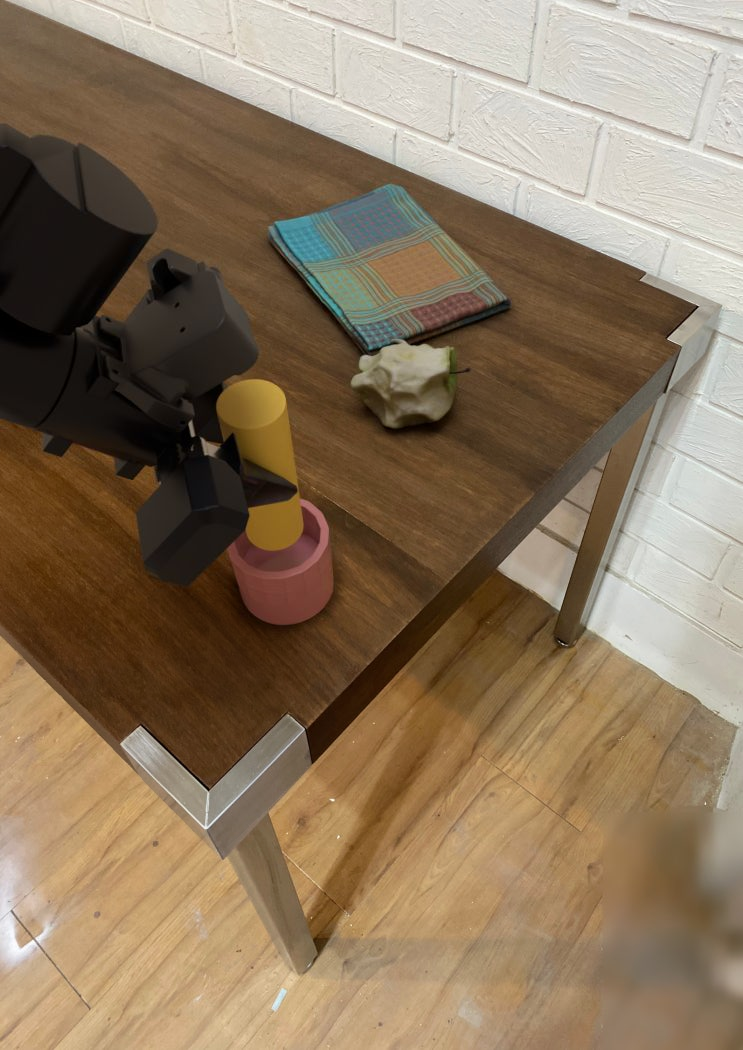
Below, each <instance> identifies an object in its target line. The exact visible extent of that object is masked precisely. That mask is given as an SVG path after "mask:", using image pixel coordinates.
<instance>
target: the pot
mask: <svg viewBox="0 0 743 1050" xmlns="http://www.w3.org/2000/svg"><path fill="white" fill-rule="evenodd" d="M300 503H301V510H302V517H303V524H304V525H303V531H302V534H301V536H300V537H299V539H298V540H297V541H296V542H295V543H294V544H292V545H291V546H289V547H287V548H285V549H281V550H276V551H269V550H264V549H261V548H258V547H257V546H255V545H254V544H252V543H251V541H250V540H249V539H248V537H247V534H246V530H245V531H244V532H243V533H242V534H241V535H240V536H239V537H238V538H237V539H236V540H235V541H234V542H233V543H232V544H231V545H230V546H229V547H228V548H227V549H226V550H227V554H228V557H229V559H230V564H231V567H232V570H233V573H234V576H235V579H236V583H237V585H238V589H239V593H240V596H241V599H242V602H243V604H244V606H245V607H246V609H247V610H248V611H249V612H250V613H251V614H252V615H253V616H254V617H256V618H257V619H259V620H261V621H263V622H265V623H267V624H272V625H277V626H289V625H295V624H299V623H303V622H305V621H308V620H310V619H311V618H313V617H315V616H316V615H318V614H319V613H320V612H321V611H322V610H323V609H324V608H325V607H326V605H327V604H328V603H329V601H330V599H331V597H332V595H333V592H334V586H335V578H334V569H333V551H332V544H331V543H332V542H331V534H330V533H331V532H330V526H329V525H328V523H327V519H326V518H325V515H324V513H323V511H321V510H320V509H318V508H317V506H315V505H314V504H313V503H311V502H310V501H308V500H306V499H303V498H300Z"/></svg>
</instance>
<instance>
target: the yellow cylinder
mask: <svg viewBox="0 0 743 1050" xmlns="http://www.w3.org/2000/svg"><path fill="white" fill-rule="evenodd" d="M287 403H288V402H287V398H286V394H285V393H284V391H283V390H282V389H281V388H280V387H279V386H278V385H276V384H275V383H273V382H271V381H268V380H265V379H255V378H254V379H253V378H251V379H244V380H241V381H236V382H235V383H233V384H231V385H229V386H228V388H226V389H225V390H224V391H223V392H222V393H221V395H220V396H219V398H218V400H217V403H216V411H217V415H218V419H219V424H220V428H221V432H222V436H223V440H224V441H225V440H226V439H227V438H228V437H229V436H230V435H231V434H232V433H235V435H236V438H237V442H238V446H239V450H240V454H241V457H243V458H245V459H247V460H249V461H251V462H253V463H255V464H257V465H259V466H261V467H263V468H265V469H267V470H269V471H271V472H273V473H275V474H277V475H279V476H281V477H283V478H284V479H286V480H288V481H289V482H291V483H292V484H294V485H296V486H297V489H298V492H297V493H296V494H295V495H294V496H293V497H292V498H291V499H290V500H288V501H285V502H279V503H274V504H268V505H263V506H257V507H252V508H248V510H249V514H250V516H249V519H248V523H247V526H246V529H245V530H246V534H247V537H248V539H249V540H250V541H251V543H252V544H254V545H255V546H257V547H258V548H261V549H264V550H269V551H276V550H281V549H285V548H287V547H289V546H291V545H292V544H294V543H295V542H296V541H297V540H298V539H299V537H300V536H301V534H302V531H303V525H304V524H303V517H302V510H301V503H300V499H301V496H300V490H299V483H298V482H299V481H298V475H297V469H296V460H295V454H294V447H293V440H292V439H293V438H292V432H291V426H290V418H289V411H288V405H287Z"/></svg>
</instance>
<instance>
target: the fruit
mask: <svg viewBox="0 0 743 1050" xmlns="http://www.w3.org/2000/svg"><path fill="white" fill-rule="evenodd" d="M391 341H392V342H396V343H398V345H390V346H386V347H383V348H382V349H381V350H380V352H379V353H378V354H377V355H375V356H369V355H365V354H363V355H361V356H360V358H359V361H358V365H357V366H358V370H359V371H360V373H357V374H355V375H354V376H353V377H352V379H351V381H350V388H351V389H352V391H353V393H355V395H358V396H361V401H362V402H363V403H364V405H365V406H366V407H368V409H370V410H371V412H372V413H373V414H374V415H375V416H376V417H377V418H378V419H379V421H380V422H381V424H382V425H383V426H384V427H385V428H386V427H387V428H390V429H393V430H395V429H402V428H405V427H413V426H419V425H423V424H427V423H429V424H431V423H434V422H438V421H440V420H441V419H442V418H443V417H445V416H446V414H448V413H449V412H450V410H451V409H452V406H453V403H454V400H455V397H456V395H457V387H458V375H459V374H464V373H469V372H471V371H472V369H471V366H469V367H467V368H465V369H462V370H459V369H458V361H459V360H458V356H457V351H456V350H455V348H454V346H452V347H451V346H450V345H446V346H445V347H441V348H440V347H437V348H434V347H433V346H431V345H429V344H427V343H422V344H420V345H411V344H410V345H408V344H407V343H406V342H405V341H404V340H401V339H393V340H391Z"/></svg>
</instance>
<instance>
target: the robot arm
mask: <svg viewBox="0 0 743 1050" xmlns="http://www.w3.org/2000/svg"><path fill="white" fill-rule="evenodd" d="M158 226H159V218H158V215H157V213H156V210H155V208H154V206H153V205H152V203H151V202H150V200H149V199H148V198H147V196H146V195H145V193H143V191H142V189H140V188H139V186H137V184H136V183H135V182H134V181H133V180H132V179H131V178H130V177H129V176H128V175H127V174H125V172H123V171H122V170H121V169H120V168H119V167H117V166H116V165H115V164H114V163H112V162H111V161H110V160H109V159H107V158H106V157H105V156H104V155H102V154H100V153H99V152H97V151H96V150H95V149H93V148H91V147H89V146H88V145H86V144H84V143H83V142H81V141H80V142H77V144H74V143H72V142H70V141H68V140H66V139H64V138H61V137H57V136H54V135H52V134H51V135H50V134H37V135H33V136H31V137H30V136H29V135H26V134H25V133H23V132H22V131H20V130H18V129H16V128H15V127H13V126H12V125H10V124H8V123H6V122H3V123H2V122H1V123H0V419H1V420H3V421H4V420H5V421H7V422H10V423H13V424H15V425H19V426H22V427H25V428H28V429H29V430H30V429H31V430H33V431H35V432H39V433H41V445H42V446H41V447H42V452H43V453H47V454H50V455H52V456H53V455H54V456H56V457H59V458H63V456H64V455H65V454H66V452H67V451H68V450H69V449H70V447H71V446H72V445H73V444H74V445H77V446H80V447H83V448H85V449H88V450H92V451H94V452H96V453H101V454H103V455H106V456H109V457H112V458H113V462H114V469H115V476H118V477H120V478H124V479H126V480H129V481H134V480H135V478H136V477H137V476H138V475H139V474H140V473H141V471H142V470H143V469H144V468H145V467H149V468H153V471H154V477H155V483H156V485H159V486H158V487H157V488H156V489H155V490H154V491H153V492H152V494H151V495H150V496H149V497H148V498H147V499H146V500H145V501H144V502H143V504H141V506H140V507H139V508H138V509H137V510H136V511H135V517H136V524H137V531H138V538H139V545H140V552H141V559H142V564H143V566H144V569H145V571H146V574H147V575H148V577H149V578H150V579H154V580H156V581H160V582H164V583H168V584H172V585H175V586H180V587H185V588H188V587H189V586H190V585H191V584H192V583H194V581H196V579H198V578H199V576H200V575H201V574H203V572H205V571H206V570H207V569H208V568H209V567H210V566H211V565H212V564H213V563H214V562H215V561H216V560H217V559H218V558H219V557H220V556H221V555H222V554H223V553H224V552H225V551H226V550H227V548H228V547H229V546H230V545H231V544H232V543H233V542H234V541H235V540H236V539H237V538H238V537H239V536H240V535H241V534H242V533H243V532H244V531H245V529H246V526H247V523H248V519H249V516H250V514H249V510H248V508H252V507H257V506H263V505H268V504H274V503H279V502H285V501H288V500H290V499H291V498H292V497H293V496H294V495H295V494H296V493H297V492H298V489H299V488H298V489H297V486H296V485H294V484H292V483H291V482H289V481H288V480H286V479H284V478H283V477H281V476H279V475H277V474H275V473H273V472H271V471H269V470H267V469H265V468H263V467H261V466H259V465H257V464H255V463H253V462H251V461H249V460H247V459H245V458H243V457H241V454H240V450H239V446H238V442H237V438H236V435H235V433H232V434H231V435H230V436H229V437H228V438H227V439H226V440H225V441H224V440H223V436H222V432H221V428H220V424H219V419H218V415H217V411H216V403H217V400H218V398H219V396H220V395H221V393H222V392H223V391H224V390H225V389H226V388H228V387H229V386H228V385H227V384H226V383H225V382H226V381H227V380H229V379H230V378H232V377H234V376H242V375H243V374H245V373H247V372H248V371H249V370H250V369H251V368H252V367H253V366H254V365H255V364H256V362H257V361H258V358H259V354H260V349H259V345H258V343H257V341H256V339H255V338H254V334H253V331H252V327H251V324H250V317H249V314H248V312H247V311H246V310H245V308H244V307H243V306H242V305H241V304H240V303H239V301H238V300H237V299H236V298H235V297H234V295H233V294H232V293H231V292H230V291H229V289H228V288H227V287H226V284H225V282H224V278H223V274H222V272H221V270H220V269H219V268H218V267H215V266H208V264H206V262H205V261H204V260H201V261H200V262H198V261H197V260H195V259H193V258H191V257H189V256H186V255H184V254H183V253H179V252H178V251H175V250H172V249H170V248H165V249H163V250H161V251H160V252H159V253H157V254H155V255H154V256H152V257H151V258H150V259H148V260H147V261H146V262H145V264H146V269H147V274H148V279H149V283H150V284H149V285H150V288H148V289H147V290H146V292H145V293H144V294H143V296H141V298H140V300H139V301H138V303H137V304H136V305H135V307H134V308H133V309H132V310H131V312H130V313H129V314H128V315H127V317H126V319H125V320H124V321H121V320H118V319H117V318H114V317H111V316H109V315H108V314H101V315H100V316H99V315H97V314H98V312H99V311H100V310H101V308H102V307H103V306H104V304H105V303H106V301H107V300H108V299H109V297H110V296H111V294H112V293H113V291H114V290H115V289H116V288H117V286H118V284H119V283H120V282H121V280H122V279H123V277H125V274H126V273H127V272H128V271H129V269H130V267H132V265H133V263H134V262H135V261H136V260H137V258H138V256H139V255H140V254H141V252H142V251H143V250H144V248H145V247H146V245H147V244H148V243H149V241H150V240H151V239H152V237H153V236H154V234H155V233H156V231H157V230H158ZM214 443H215V444H214ZM216 444H220V445H216Z"/></svg>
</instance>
